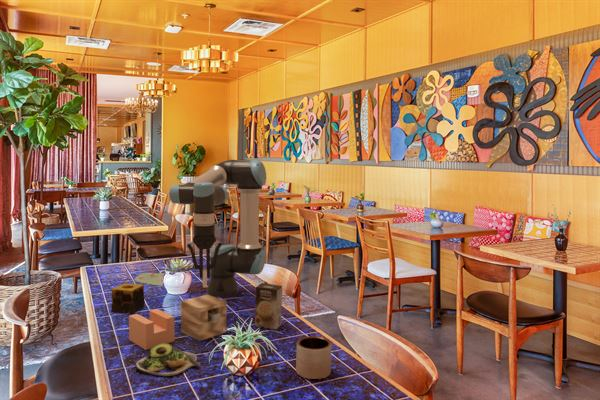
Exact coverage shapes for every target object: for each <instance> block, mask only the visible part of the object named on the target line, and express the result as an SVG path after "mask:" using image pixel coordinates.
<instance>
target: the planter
mask: <svg viewBox="0 0 600 400" xmlns="http://www.w3.org/2000/svg"><path fill="white" fill-rule="evenodd" d="M295 354H296V359H295V360H296V361H295V372H296V374H297V375H299V376H300V377H302V378H304V379H306V378H307V379H306V380H310V379H319V380H323V379H326V378H327V377H329V376H330V375H331V372H332V342H331V340H330V339H328V338H326V337H323V336H318V335H314V336H313V335H311V336H304V337H301V338H299V339H298V340H297V341H296V353H295ZM322 378H323V379H322Z"/></svg>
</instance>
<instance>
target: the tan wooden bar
mask: <svg viewBox="0 0 600 400" xmlns="http://www.w3.org/2000/svg"><path fill="white" fill-rule="evenodd" d="M181 301H182V300H180V301H179V309H180V310H181ZM208 321H210V322H212V323H216V322H220V313H219V312H216V311H213V310H211V309H210V310H208Z"/></svg>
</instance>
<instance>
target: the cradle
mask: <svg viewBox="0 0 600 400" xmlns="http://www.w3.org/2000/svg"><path fill="white" fill-rule="evenodd" d="M128 332H129V333H128V339H129V341H131V342H132V343H133V344H135V345H137V346H138V347H140V348H142V349H143V350H145V351H147V350H151V348H153V347H154V346H156V345H158V344H161V343H168V344H170V343H174V342H175V338H176V337H175V335H176V334H175V316H174V315H172V314H170V313H167V312H165V311H163V310H161V309H159V308H155V309H150V310H149V318H146V317H145V316H142V315H140V314H138V313H135V314H134V313H133V314H130V315H128Z"/></svg>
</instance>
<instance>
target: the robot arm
mask: <svg viewBox="0 0 600 400" xmlns="http://www.w3.org/2000/svg"><path fill="white" fill-rule="evenodd" d="M266 183H267V170H266V167H265V165H264V163H263V161H260V160H256V159H255V160H254V159H228V160H223V161H220V162H218V163H216V164H214V165H212V166H210V167H209V168H208V170H207V171H206V172H204V173H202V174H200V175H198V176H197V177H195V178H193V179H192V180H190V181H188V182H186V183H183V184H179V183H178V184H173V185H171V186H170V189H169V191H168V195H169V200H170V202H171V203H173V204H175V205H176V204H178V205H193V224H194V226H193V238H192V240H191V241H190V242H186V246H187V247H186V248H188V249H189V252H190V255H191V259H192V263H193V266H194V269H195V270H199V273H198V274H199V279H202V288H206V295H207V294H208V295H211V296H213V297H216V298H229V297H233V296H236V295H237V294H239V286H238V283H237V280H236V277H235V274H245V275H252V276H253V275H260V274H261V273H262V272H263V270H264V268H265V264H266V261H267V260H266V258H267V253H266V251H265V250H264V249H263V247H262V244H261V243H260V242H259V241H260V240H259V230H260V229H259V228H260V227H259V223H260V221H259V220H260V219H259V218H260V217H259V216H260V215H259V214H260V209H259V208H260V207H259V206H260V202H259V201H260V200H259V199H260V192H261V191H262V190H263V186H265V185H266ZM223 185H236V189H237V190H238V191H239V193H240V206H239V207H240V210H239V211H240V213H239V214H240V242H239V244H238V245H237V246H235V244H222V242H221V241H219V240H217V238H216V236H215V234H216V232H215V228H216V227H215V223H216V222H215V207H216V206H220V205H222V204H224V203H226V201H228V198H229V192H228V190H227V188H226V187H225V186H223ZM195 246H196V248H197V249H198V253H199V254H198V256H199V257H198V259H199V262H198V261H197V258H196V254H195V250H194V247H195ZM213 246H214V247H213ZM236 247H237V248H236ZM204 250H205V252H206V254H205V261H206V262H205V263H206V265H205V266H206V268H204V258H203V257H204V255H203V254H204ZM198 263H199V264H198ZM208 279H209V281H208Z"/></svg>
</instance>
